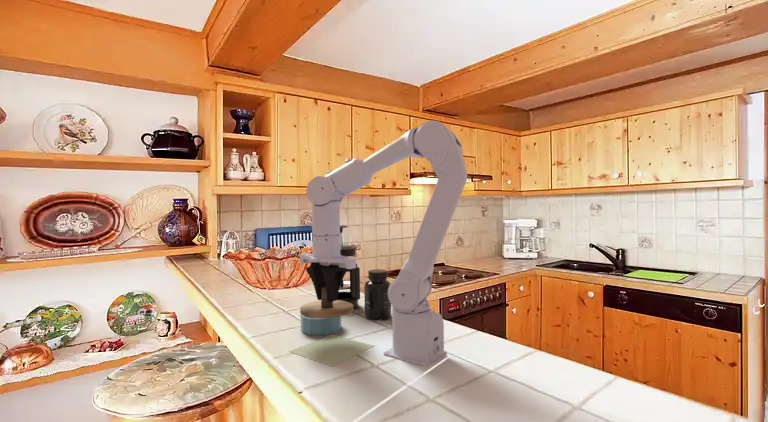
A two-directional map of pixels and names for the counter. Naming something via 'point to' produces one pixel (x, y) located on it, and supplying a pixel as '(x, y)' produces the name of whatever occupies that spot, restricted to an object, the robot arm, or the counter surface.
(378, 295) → the supplement bottle
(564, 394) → the counter surface
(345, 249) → the french press
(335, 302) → the walnut lid
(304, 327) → the teal bowl
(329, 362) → the sage mat
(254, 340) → the counter surface
